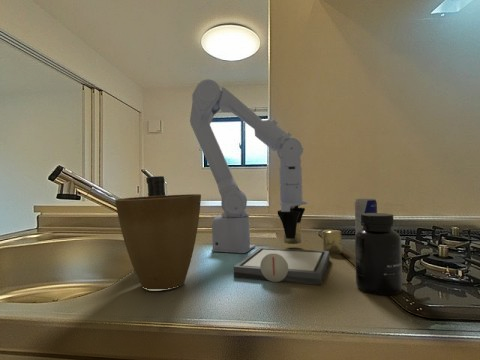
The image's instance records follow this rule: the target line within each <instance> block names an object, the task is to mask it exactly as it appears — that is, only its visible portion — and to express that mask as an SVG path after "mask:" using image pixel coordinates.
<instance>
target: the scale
mask: <svg viewBox="0 0 480 360" xmlns="http://www.w3.org/2000/svg"><path fill="white" fill-rule="evenodd" d="M262 250H280V251H299V252H319V253H322V256H321V259H320V261H319V263H318V265H317V267H316V269H315V271H302V270H289V269H288V264H287V261H286V260H285V258H284V257H283V256H281V255H279V254H277V253H270V254H267V255H266V256H265V257H264V258H263V259H262V261H261V265H260V267H249V266H243V265H244V264H246V263H247V262H248V261H249V260H251V259H252V258H253V257H254V256H256V255H257V254H258V253H260V252H261V251H262ZM329 262H330V254H329V251H323V250H315V249H314V250H313V249H311V250H310V249H293V248H292V249H291V248H289V249H288V248H272V247H258V248H256V250H254V251H253V252H252V253H249V255H247V256H246V257H244V258H243V259H241V260H240V261H239V262H238V263H237V264H234V266H233V277H234V278H238V279H239V278H240V279H249V280H250V279H251V280H259V281H260V280H261V281H270V282H274V283H277V282H283V283H294V284H306V285H317V286H318V285H319V286H322V283H323V281H324V277H325V274H326V273H327V272H326V271H327V268H328V266H329V264H330V263H329Z"/></svg>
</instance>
